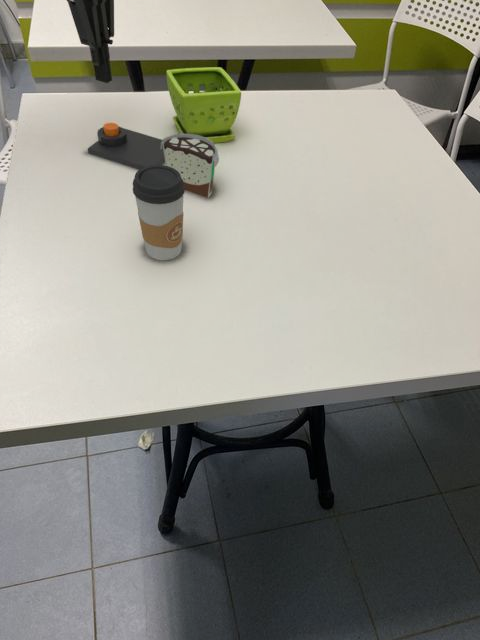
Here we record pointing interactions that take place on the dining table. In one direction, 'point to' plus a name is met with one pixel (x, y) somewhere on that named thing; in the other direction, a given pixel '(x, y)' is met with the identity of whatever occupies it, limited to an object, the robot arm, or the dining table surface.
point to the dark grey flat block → (129, 148)
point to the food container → (192, 161)
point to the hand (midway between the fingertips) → (104, 79)
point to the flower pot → (204, 102)
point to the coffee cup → (160, 210)
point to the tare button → (111, 129)
